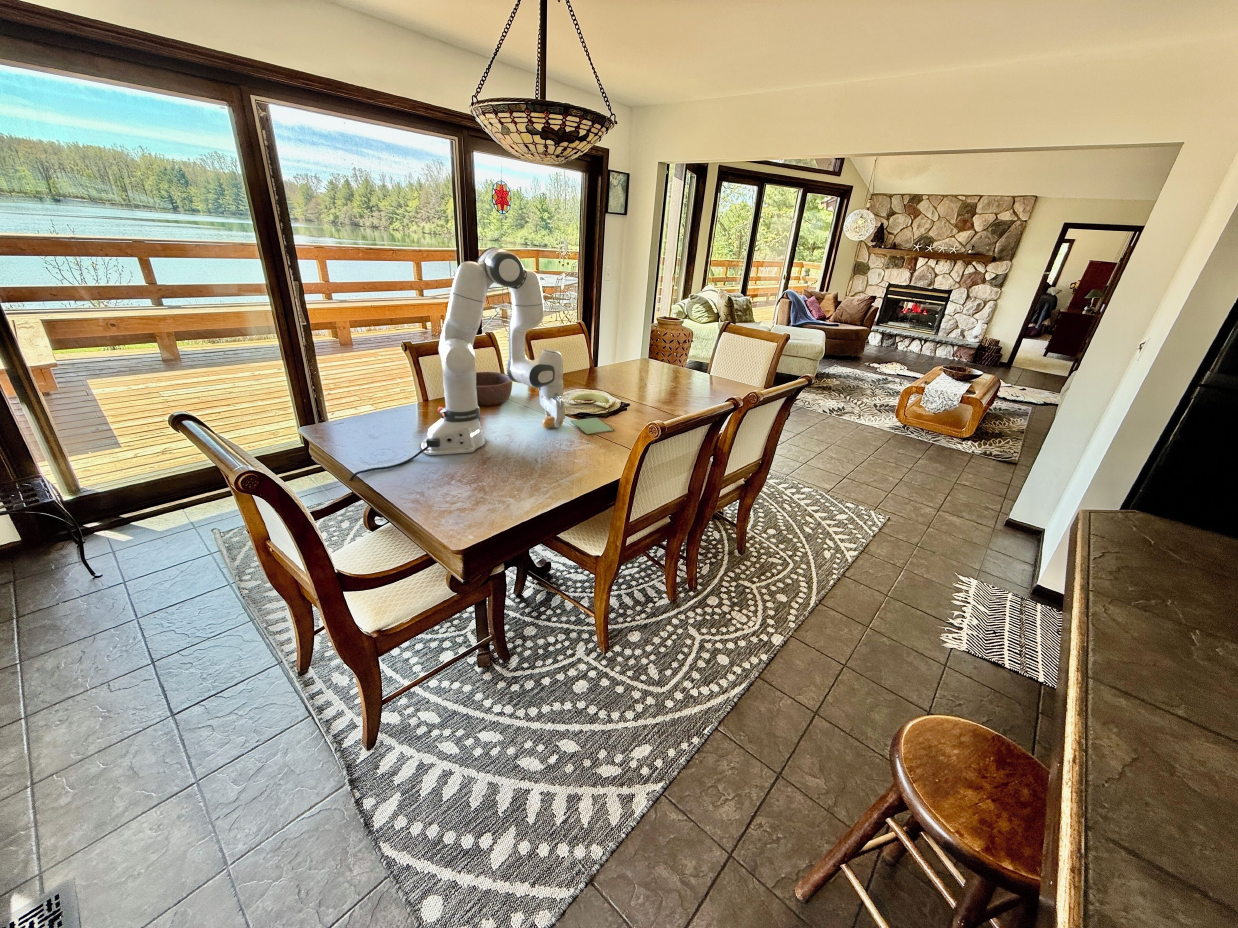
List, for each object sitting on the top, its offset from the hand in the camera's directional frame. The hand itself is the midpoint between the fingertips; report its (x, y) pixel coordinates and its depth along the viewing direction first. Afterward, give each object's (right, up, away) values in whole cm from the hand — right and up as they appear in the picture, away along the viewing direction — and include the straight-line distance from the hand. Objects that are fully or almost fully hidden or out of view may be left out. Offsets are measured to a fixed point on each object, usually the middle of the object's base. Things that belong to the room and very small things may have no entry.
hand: (552, 422), depth 197 cm
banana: (+15, +9, +26) cm, 32 cm away
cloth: (+16, -1, +5) cm, 17 cm away
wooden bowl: (-35, +13, +28) cm, 47 cm away
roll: (0, -2, +1) cm, 2 cm away
